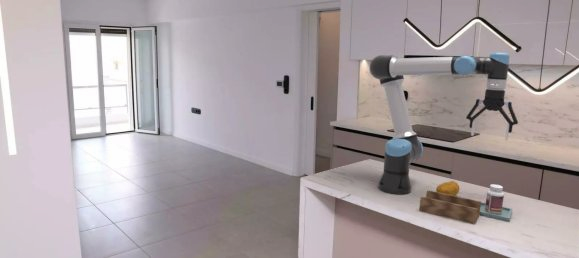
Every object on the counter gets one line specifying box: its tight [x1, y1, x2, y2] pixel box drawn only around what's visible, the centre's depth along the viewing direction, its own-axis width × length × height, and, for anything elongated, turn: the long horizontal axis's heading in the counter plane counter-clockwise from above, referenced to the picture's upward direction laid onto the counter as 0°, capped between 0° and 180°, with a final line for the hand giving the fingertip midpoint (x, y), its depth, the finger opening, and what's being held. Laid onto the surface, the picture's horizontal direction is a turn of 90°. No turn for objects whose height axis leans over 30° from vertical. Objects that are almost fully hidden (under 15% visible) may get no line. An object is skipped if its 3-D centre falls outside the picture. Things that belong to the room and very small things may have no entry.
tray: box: [479, 201, 513, 222], centre depth 166 cm, size 13×13×2 cm
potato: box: [435, 180, 460, 196], centre depth 182 cm, size 7×14×7 cm, turn 128°
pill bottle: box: [485, 183, 505, 214], centre depth 165 cm, size 6×6×11 cm
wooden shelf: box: [418, 189, 482, 225], centre depth 164 cm, size 21×10×6 cm, turn 57°
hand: (489, 137), depth 177 cm, fingers open, 13 cm apart
